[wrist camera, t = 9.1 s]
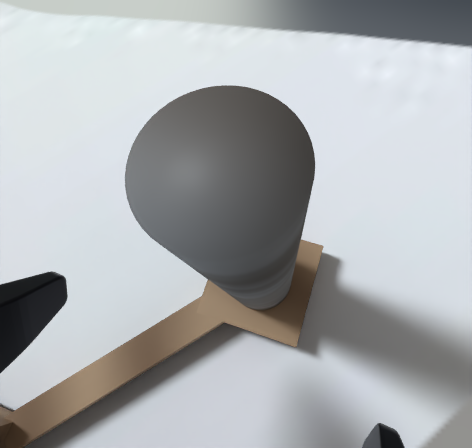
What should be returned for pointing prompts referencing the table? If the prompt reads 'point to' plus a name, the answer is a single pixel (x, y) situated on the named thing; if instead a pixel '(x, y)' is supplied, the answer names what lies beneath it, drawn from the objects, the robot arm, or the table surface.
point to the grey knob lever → (207, 236)
